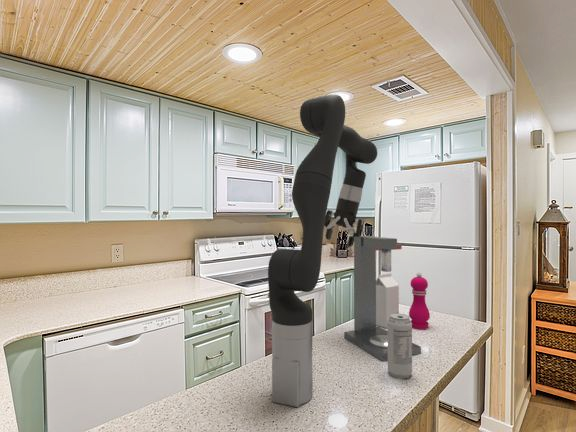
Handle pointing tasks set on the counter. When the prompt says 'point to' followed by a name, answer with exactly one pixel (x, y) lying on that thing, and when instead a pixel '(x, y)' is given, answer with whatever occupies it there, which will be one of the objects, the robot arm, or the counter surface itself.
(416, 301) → the pepper mill
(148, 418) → the counter surface
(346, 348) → the counter surface
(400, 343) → the energy drink can
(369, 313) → the arbor press
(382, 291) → the milk carton
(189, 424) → the counter surface
